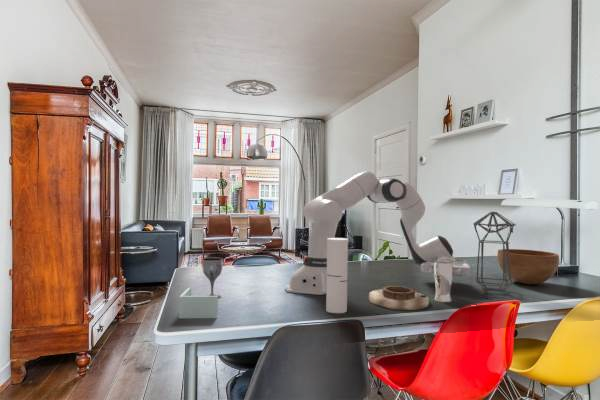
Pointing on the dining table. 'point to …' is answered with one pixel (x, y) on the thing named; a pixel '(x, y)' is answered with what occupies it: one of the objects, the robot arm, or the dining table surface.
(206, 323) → the dining table surface
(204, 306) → the right angle wall
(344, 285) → the cylindrical container
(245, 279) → the dining table surface
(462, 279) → the dining table surface
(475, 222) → the geometric lantern
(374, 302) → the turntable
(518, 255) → the bowl
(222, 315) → the dining table surface
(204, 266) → the wine glass
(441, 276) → the beer glass
